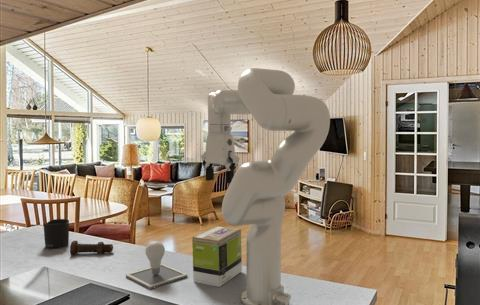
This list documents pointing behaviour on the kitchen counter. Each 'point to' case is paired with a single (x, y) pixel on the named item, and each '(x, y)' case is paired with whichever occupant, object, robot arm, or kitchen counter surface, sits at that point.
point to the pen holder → (56, 233)
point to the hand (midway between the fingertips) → (219, 181)
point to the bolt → (90, 248)
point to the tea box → (216, 255)
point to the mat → (156, 276)
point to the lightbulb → (155, 255)
